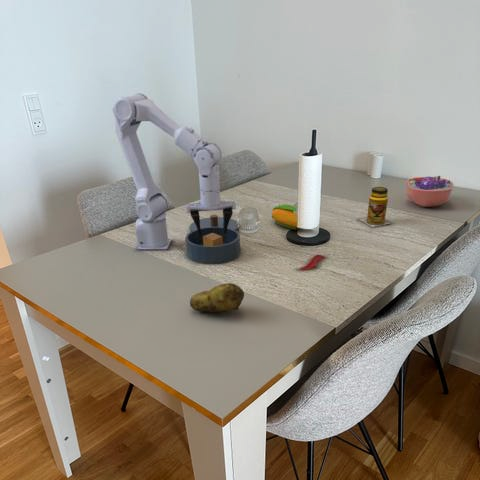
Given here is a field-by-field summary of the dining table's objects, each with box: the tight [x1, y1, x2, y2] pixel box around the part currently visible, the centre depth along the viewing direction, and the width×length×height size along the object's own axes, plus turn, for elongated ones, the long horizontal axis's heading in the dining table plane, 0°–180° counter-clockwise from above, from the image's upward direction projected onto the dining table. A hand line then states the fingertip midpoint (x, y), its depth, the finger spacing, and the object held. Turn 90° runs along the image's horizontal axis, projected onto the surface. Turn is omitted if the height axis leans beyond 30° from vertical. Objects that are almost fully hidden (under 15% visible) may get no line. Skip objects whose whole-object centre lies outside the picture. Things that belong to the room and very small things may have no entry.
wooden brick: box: [203, 233, 223, 246], centre depth 143 cm, size 4×5×5 cm
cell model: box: [405, 175, 455, 208], centre depth 176 cm, size 17×20×11 cm
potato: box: [189, 282, 245, 313], centre depth 112 cm, size 8×13×8 cm, turn 57°
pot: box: [185, 227, 241, 265], centre depth 143 cm, size 16×16×5 cm
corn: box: [271, 203, 297, 231], centre depth 159 cm, size 7×8×20 cm
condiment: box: [358, 186, 391, 228], centre depth 161 cm, size 7×8×12 cm
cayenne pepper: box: [298, 254, 326, 271], centre depth 135 cm, size 12×5×2 cm, turn 129°
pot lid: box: [189, 214, 240, 232], centre depth 161 cm, size 17×17×4 cm
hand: (212, 233), depth 141 cm, fingers open, 7 cm apart
